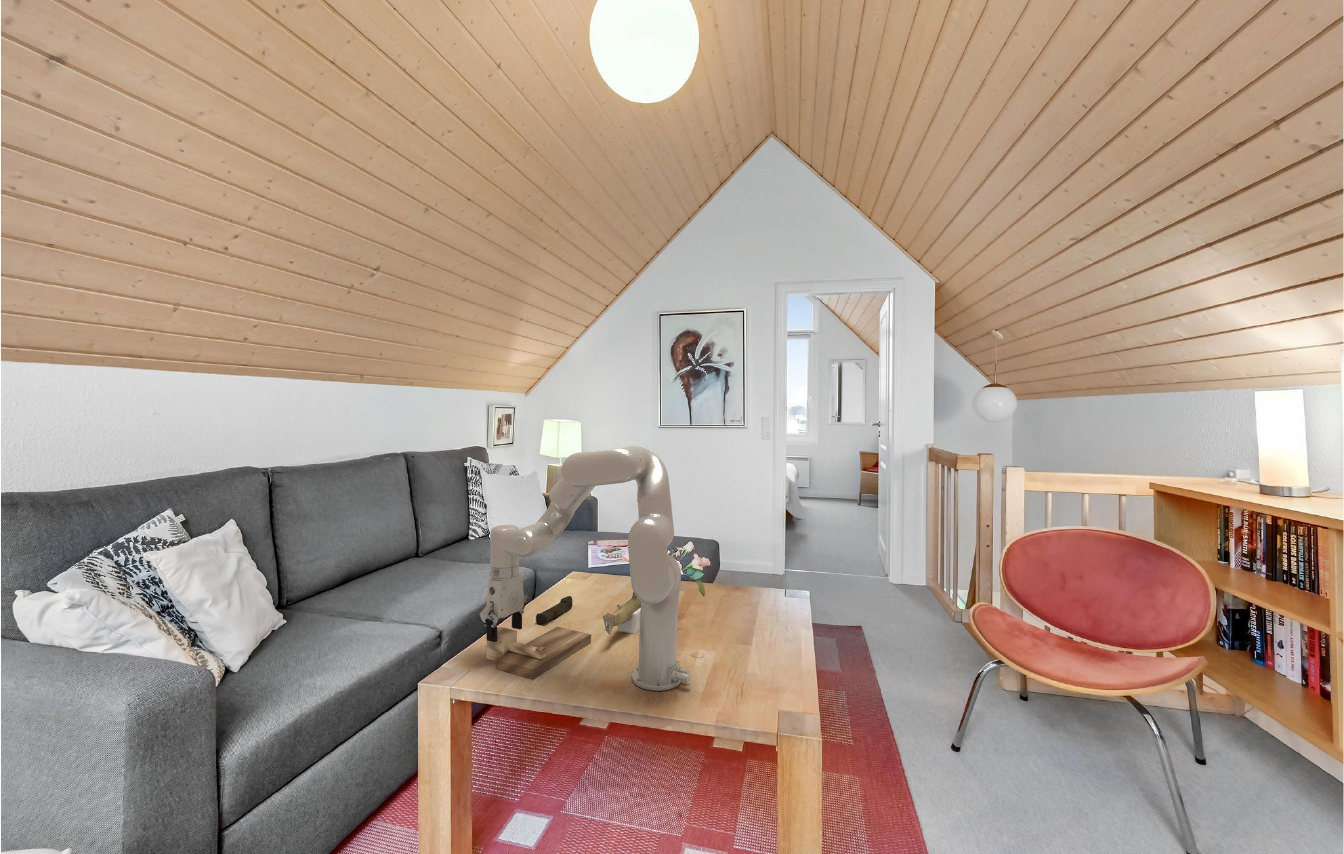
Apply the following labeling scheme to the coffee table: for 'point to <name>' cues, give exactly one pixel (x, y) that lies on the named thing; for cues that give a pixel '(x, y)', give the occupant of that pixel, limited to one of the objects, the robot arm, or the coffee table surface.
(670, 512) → the robot arm
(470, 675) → the coffee table surface
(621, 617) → the wood carving
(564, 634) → the board
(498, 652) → the beige block with stick
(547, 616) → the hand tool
